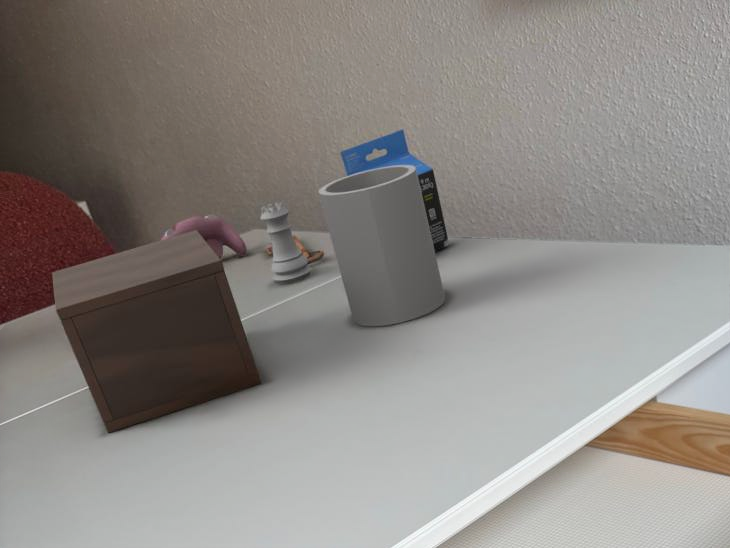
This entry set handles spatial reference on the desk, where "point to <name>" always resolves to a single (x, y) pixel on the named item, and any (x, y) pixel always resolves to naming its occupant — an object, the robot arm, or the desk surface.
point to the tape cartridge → (401, 156)
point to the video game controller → (210, 233)
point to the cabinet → (154, 329)
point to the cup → (383, 245)
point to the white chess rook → (284, 246)
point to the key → (303, 252)
